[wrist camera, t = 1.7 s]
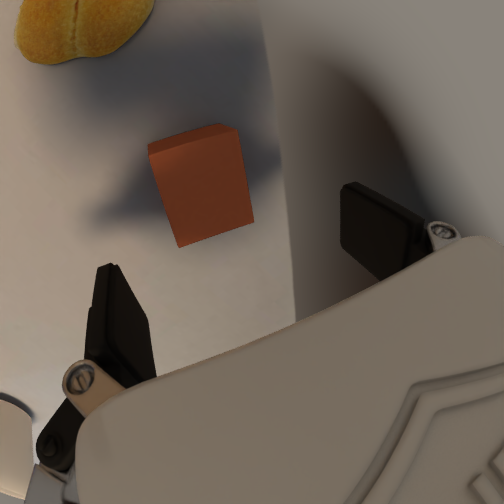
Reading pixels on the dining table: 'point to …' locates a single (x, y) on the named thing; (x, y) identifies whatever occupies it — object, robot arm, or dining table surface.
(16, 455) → the cup
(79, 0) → the bread roll
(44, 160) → the dining table surface
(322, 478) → the robot arm
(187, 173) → the orange block
